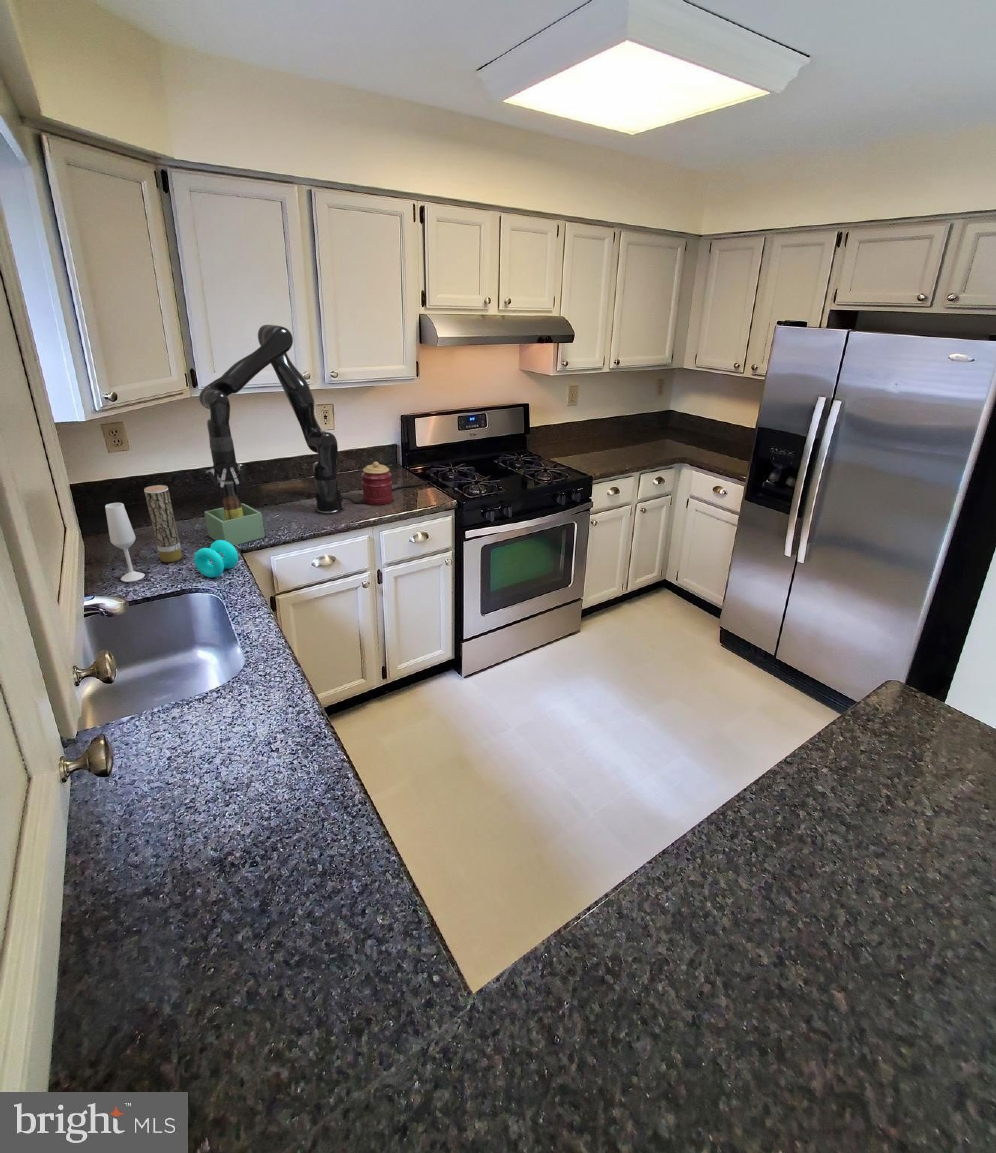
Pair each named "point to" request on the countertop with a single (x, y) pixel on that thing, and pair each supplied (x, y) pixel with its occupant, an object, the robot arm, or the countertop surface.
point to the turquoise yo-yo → (216, 558)
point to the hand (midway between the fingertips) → (230, 494)
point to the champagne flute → (122, 536)
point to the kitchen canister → (377, 484)
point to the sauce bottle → (231, 502)
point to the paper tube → (163, 523)
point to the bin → (235, 526)
